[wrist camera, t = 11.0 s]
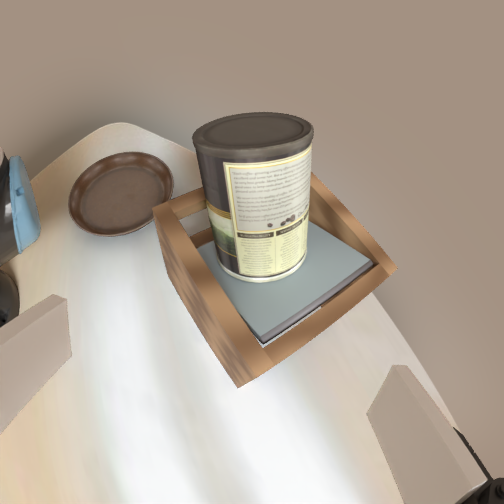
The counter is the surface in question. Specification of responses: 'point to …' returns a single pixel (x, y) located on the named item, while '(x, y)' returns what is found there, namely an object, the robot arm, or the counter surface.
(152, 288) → the counter surface
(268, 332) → the lid
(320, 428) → the counter surface
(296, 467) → the counter surface
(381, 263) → the wooden stand
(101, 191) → the plant saucer
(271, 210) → the coffee can
